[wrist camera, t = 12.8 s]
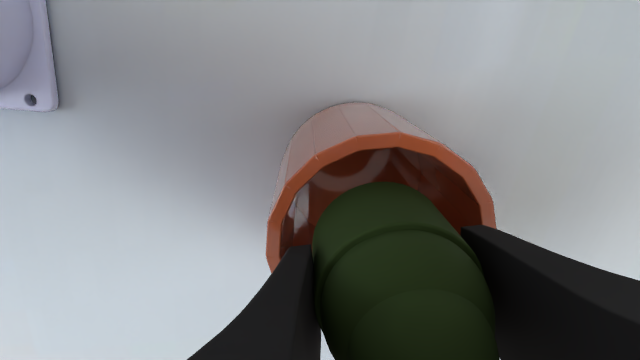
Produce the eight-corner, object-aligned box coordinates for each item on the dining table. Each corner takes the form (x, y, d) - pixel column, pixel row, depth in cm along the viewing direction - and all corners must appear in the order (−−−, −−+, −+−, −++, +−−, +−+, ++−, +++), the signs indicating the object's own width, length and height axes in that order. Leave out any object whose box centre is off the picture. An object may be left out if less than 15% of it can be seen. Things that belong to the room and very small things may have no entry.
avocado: (360, 319, 13) (409, 559, 7) (285, 231, 12) (261, 424, 6) (467, 254, 12) (629, 455, 6) (399, 153, 11) (516, 276, 5)
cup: (277, 235, 20) (261, 335, 13) (286, 94, 17) (272, 121, 10) (411, 244, 20) (468, 346, 13) (437, 108, 18) (523, 143, 11)
